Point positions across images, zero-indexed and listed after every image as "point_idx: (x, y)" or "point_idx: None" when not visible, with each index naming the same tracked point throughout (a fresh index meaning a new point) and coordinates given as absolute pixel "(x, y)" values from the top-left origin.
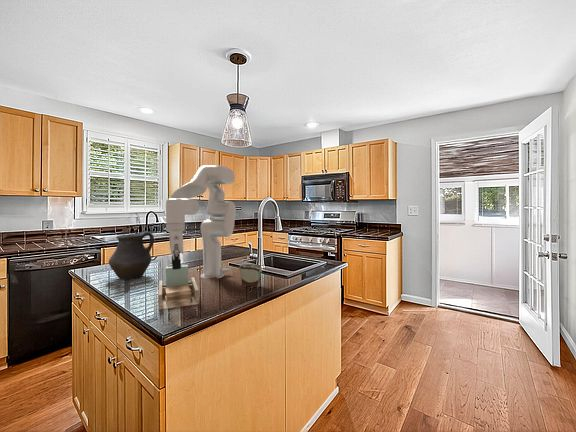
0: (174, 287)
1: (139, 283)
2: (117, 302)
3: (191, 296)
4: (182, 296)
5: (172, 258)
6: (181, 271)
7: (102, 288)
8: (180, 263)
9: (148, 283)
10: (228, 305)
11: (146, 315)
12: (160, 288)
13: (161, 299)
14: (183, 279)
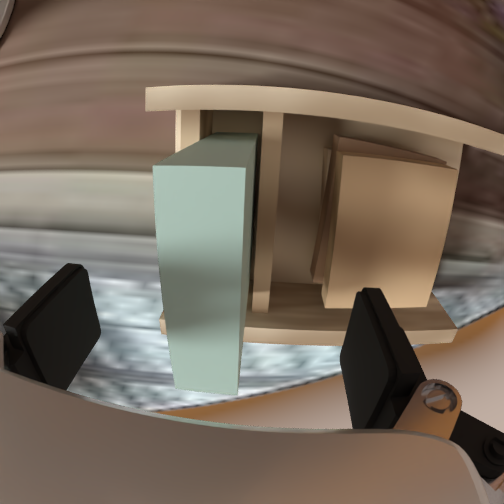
0: (342, 256)
1: None
2: (202, 402)
3: (336, 129)
4: None
5: (69, 381)
6: (245, 234)
7: None
8: (399, 330)
9: (3, 300)
10: (481, 9)
11: None
12: None
13: (447, 316)
14: (251, 188)
